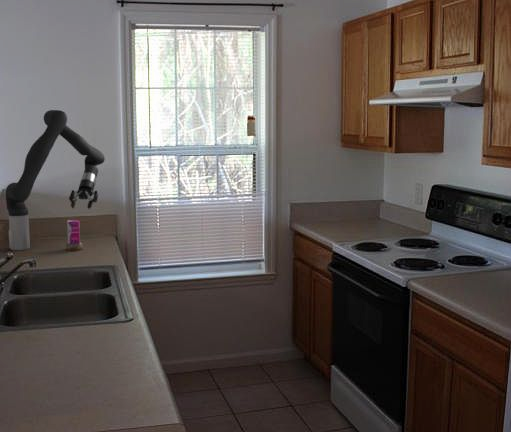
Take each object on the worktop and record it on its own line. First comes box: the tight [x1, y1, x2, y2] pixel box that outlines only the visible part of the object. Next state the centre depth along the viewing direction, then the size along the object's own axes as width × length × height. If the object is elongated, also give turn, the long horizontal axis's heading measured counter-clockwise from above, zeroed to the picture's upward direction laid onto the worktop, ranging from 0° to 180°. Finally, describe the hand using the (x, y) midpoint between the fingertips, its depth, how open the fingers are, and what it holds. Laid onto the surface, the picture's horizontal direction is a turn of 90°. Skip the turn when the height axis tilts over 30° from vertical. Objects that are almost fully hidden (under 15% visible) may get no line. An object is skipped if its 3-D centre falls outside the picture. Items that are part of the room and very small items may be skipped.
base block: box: [65, 241, 83, 252], centre depth 339 cm, size 8×8×3 cm
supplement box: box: [66, 219, 81, 245], centre depth 338 cm, size 6×6×12 cm
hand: (80, 207), depth 347 cm, fingers open, 8 cm apart
